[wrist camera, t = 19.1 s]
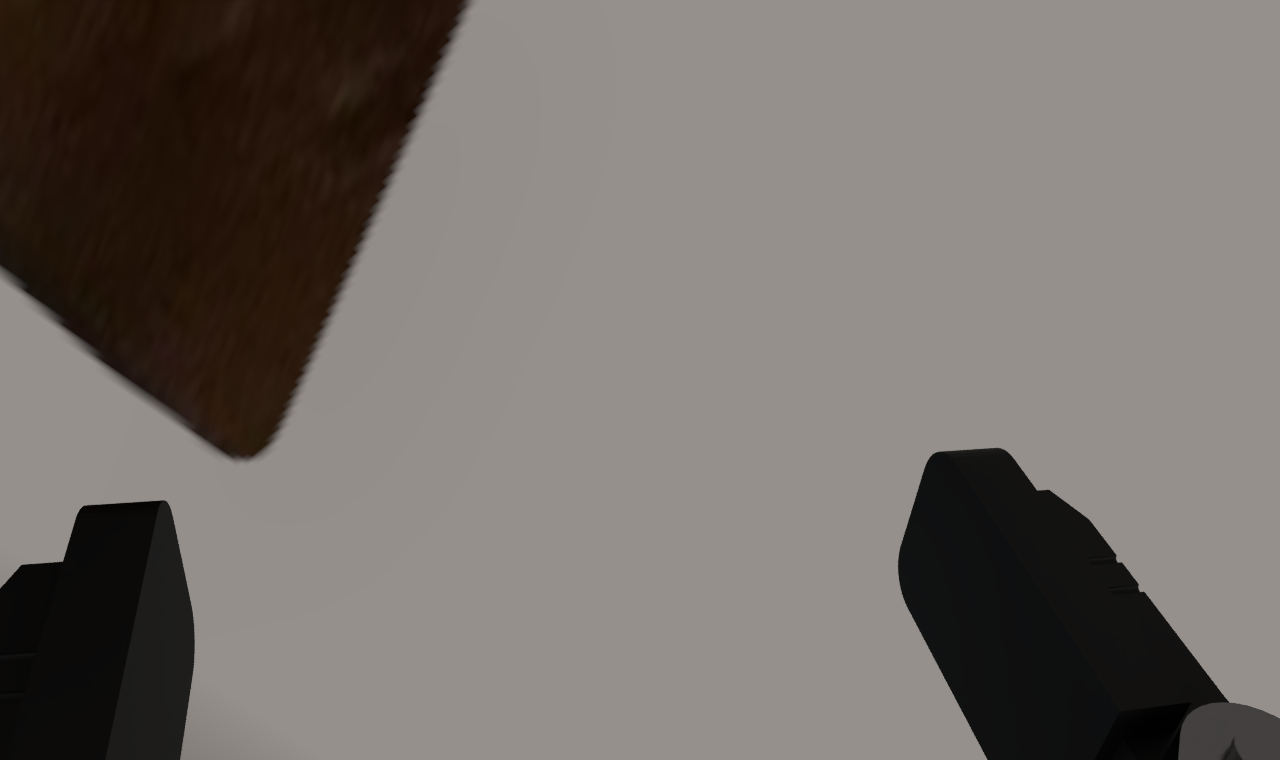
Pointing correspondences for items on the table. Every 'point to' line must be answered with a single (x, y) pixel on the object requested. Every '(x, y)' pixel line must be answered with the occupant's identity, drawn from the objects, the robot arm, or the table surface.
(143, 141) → the table surface
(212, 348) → the table surface
